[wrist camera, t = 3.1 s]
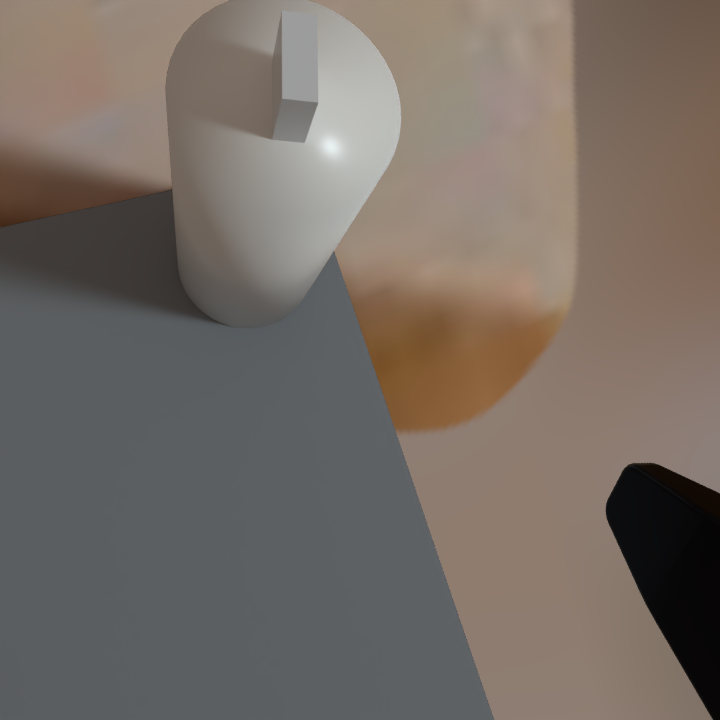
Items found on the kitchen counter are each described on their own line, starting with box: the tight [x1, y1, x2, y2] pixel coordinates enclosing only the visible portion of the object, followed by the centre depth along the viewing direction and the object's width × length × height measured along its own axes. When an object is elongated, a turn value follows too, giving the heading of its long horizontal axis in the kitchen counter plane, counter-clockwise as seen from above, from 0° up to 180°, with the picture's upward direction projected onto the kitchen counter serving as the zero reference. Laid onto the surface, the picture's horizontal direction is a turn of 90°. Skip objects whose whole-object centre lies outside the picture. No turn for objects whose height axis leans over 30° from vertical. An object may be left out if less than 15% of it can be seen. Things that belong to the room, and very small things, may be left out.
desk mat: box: [0, 190, 494, 720], centre depth 20 cm, size 22×18×1 cm
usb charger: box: [165, 0, 401, 328], centre depth 16 cm, size 4×4×11 cm
